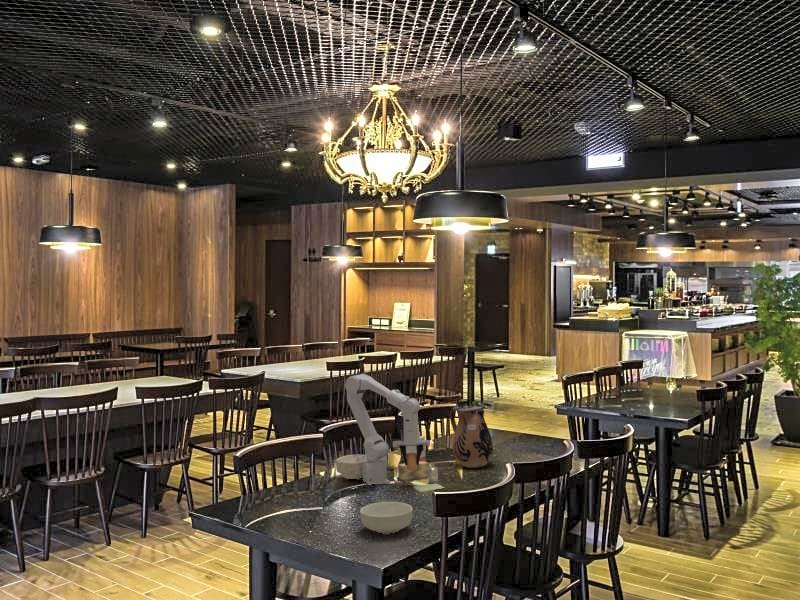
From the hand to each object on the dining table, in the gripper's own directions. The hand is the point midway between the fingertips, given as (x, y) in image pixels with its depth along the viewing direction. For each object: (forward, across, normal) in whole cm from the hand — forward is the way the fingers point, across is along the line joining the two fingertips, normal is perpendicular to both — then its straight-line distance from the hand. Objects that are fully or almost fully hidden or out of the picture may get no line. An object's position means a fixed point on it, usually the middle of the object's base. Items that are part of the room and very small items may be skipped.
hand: (411, 464), depth 282 cm
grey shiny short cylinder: (+8, -8, -3) cm, 12 cm away
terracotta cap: (+2, 0, 0) cm, 2 cm away
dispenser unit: (+8, -1, -11) cm, 14 cm away
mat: (+8, -6, +5) cm, 12 cm away
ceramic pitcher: (+9, -27, -29) cm, 40 cm away
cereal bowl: (+9, +11, +51) cm, 53 cm away
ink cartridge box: (+9, -3, -37) cm, 39 cm away
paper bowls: (+9, +23, -16) cm, 29 cm away
